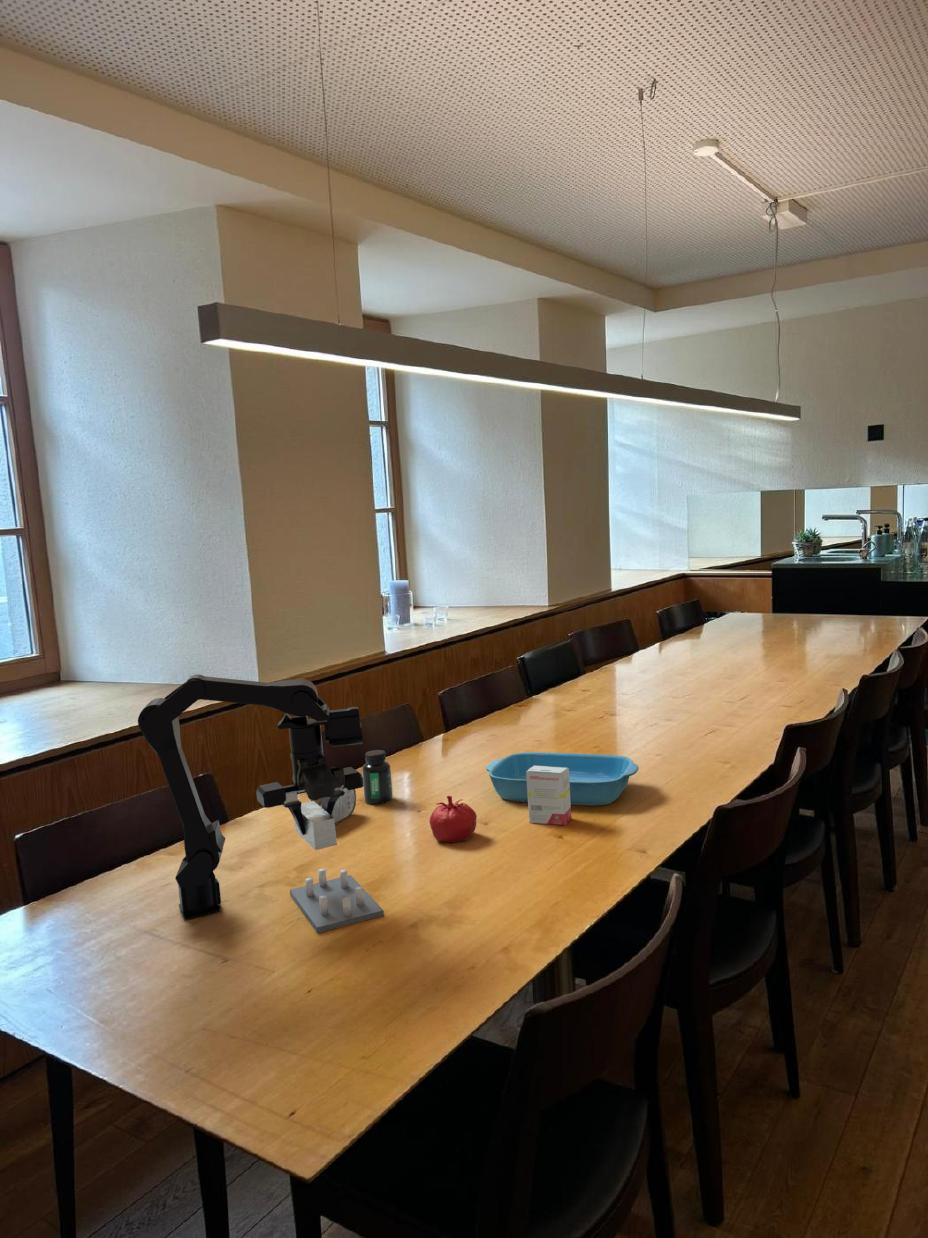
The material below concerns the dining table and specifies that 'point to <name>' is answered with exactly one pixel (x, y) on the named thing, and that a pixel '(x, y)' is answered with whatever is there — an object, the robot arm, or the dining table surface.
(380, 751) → the supplement bottle
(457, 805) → the red tomato
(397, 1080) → the dining table surface
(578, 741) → the dining table surface
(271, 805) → the robot arm
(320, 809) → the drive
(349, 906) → the grey pegged platform
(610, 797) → the casserole dish
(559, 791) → the ink box
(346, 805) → the tin
